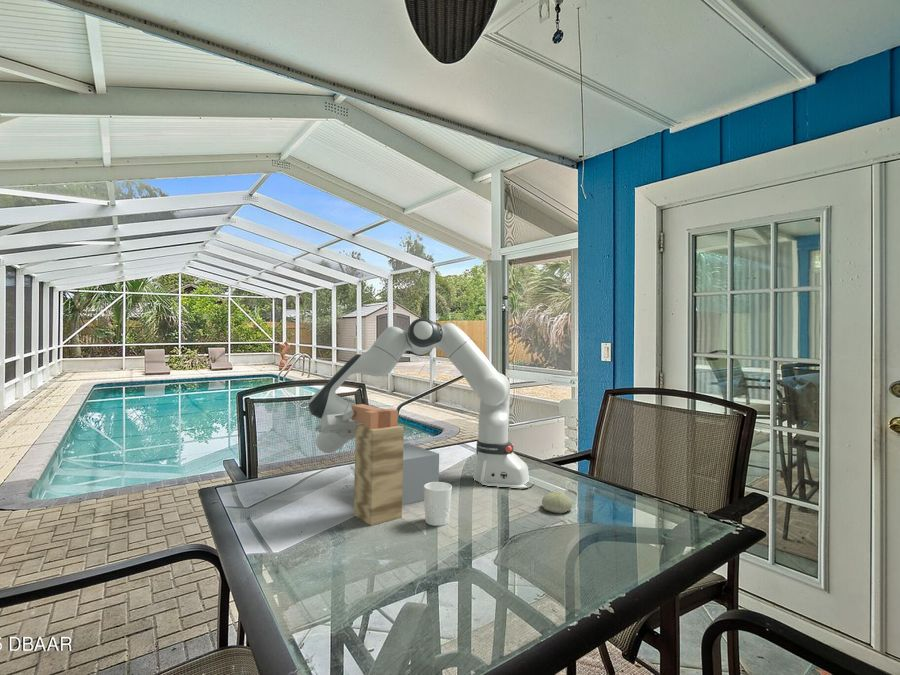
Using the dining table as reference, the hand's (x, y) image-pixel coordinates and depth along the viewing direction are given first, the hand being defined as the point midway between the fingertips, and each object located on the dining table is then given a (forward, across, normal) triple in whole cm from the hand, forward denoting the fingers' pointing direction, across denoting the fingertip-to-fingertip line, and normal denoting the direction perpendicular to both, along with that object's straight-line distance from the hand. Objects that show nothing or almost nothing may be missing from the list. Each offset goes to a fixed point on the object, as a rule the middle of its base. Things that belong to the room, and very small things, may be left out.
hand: (362, 411), depth 144 cm
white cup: (+6, +12, +37) cm, 39 cm away
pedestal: (-6, 0, +30) cm, 31 cm away
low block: (-16, +17, +24) cm, 33 cm away
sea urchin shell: (+18, +47, +44) cm, 67 cm away
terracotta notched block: (+3, 0, +5) cm, 6 cm away
